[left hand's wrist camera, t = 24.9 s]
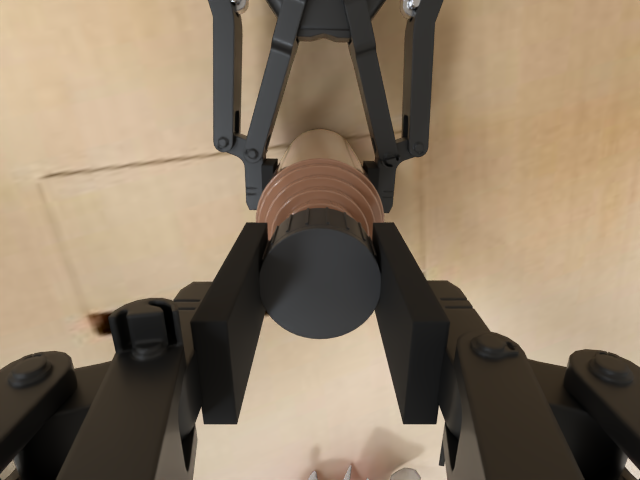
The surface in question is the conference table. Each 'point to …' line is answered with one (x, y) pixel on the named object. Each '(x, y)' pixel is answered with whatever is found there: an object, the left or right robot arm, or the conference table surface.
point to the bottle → (320, 182)
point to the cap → (320, 274)
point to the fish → (406, 476)
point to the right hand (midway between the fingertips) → (318, 253)
